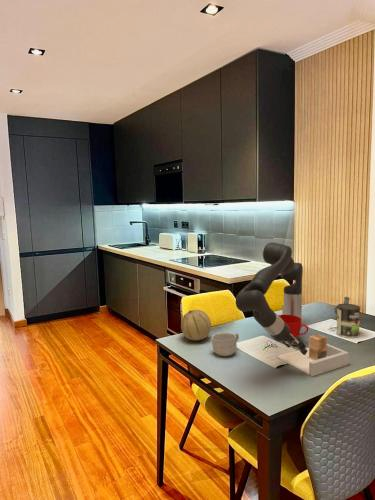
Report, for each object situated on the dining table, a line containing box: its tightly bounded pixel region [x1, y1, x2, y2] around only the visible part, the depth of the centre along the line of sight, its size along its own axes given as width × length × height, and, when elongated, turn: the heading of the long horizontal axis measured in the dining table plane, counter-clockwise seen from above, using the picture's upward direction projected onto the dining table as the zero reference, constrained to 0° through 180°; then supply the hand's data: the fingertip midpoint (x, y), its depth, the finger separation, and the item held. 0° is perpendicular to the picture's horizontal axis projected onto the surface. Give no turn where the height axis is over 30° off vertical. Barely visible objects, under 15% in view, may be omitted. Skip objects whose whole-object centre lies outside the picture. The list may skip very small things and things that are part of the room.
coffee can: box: [336, 303, 361, 339], centre depth 176 cm, size 10×10×14 cm
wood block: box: [308, 333, 328, 360], centre depth 149 cm, size 5×5×9 cm
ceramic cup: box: [277, 314, 309, 338], centre depth 171 cm, size 13×17×10 cm
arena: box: [276, 343, 350, 377], centre depth 148 cm, size 20×20×5 cm
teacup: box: [211, 332, 240, 357], centre depth 159 cm, size 14×11×8 cm
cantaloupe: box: [180, 309, 212, 341], centre depth 175 cm, size 15×15×15 cm
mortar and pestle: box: [334, 296, 351, 316], centre depth 198 cm, size 11×9×12 cm
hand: (297, 349), depth 144 cm, fingers open, 8 cm apart
